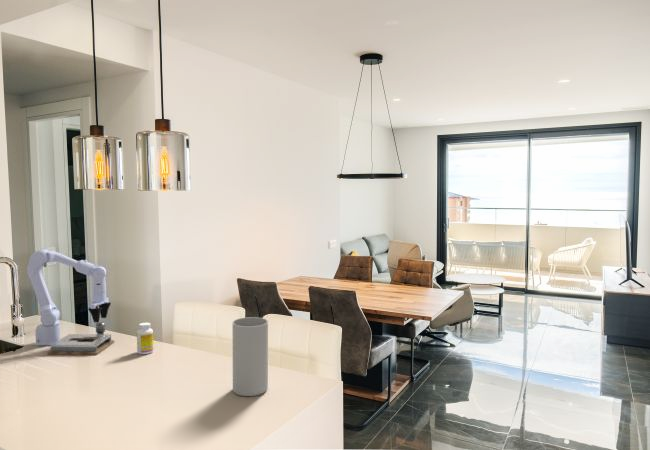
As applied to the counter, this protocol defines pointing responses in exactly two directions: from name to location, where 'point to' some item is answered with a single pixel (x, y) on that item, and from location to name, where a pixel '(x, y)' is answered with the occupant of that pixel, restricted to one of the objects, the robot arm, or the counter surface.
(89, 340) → the keyhole plate
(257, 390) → the cylinder vase
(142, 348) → the supplement bottle
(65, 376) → the counter surface
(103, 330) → the dark grey knob
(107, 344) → the keyhole board
